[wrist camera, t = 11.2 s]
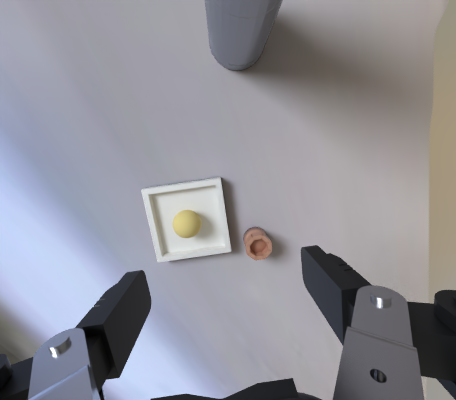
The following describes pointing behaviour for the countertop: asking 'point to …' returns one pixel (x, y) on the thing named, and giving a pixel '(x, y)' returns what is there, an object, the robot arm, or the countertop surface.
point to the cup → (257, 243)
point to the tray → (187, 200)
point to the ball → (187, 224)
